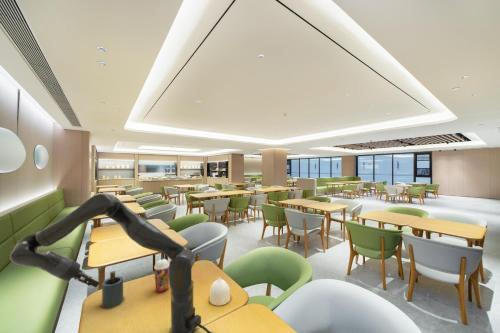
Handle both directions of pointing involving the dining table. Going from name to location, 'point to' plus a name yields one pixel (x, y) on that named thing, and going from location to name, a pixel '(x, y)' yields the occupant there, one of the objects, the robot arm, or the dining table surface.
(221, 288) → the white rounded dome
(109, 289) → the jar
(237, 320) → the dining table surface
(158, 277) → the smoothie
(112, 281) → the brush
